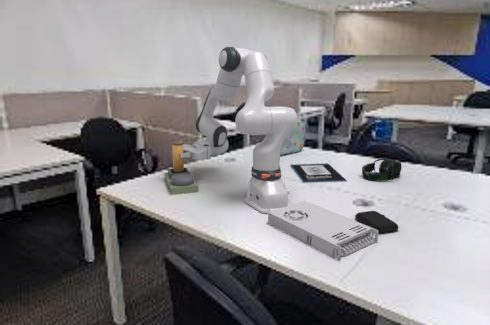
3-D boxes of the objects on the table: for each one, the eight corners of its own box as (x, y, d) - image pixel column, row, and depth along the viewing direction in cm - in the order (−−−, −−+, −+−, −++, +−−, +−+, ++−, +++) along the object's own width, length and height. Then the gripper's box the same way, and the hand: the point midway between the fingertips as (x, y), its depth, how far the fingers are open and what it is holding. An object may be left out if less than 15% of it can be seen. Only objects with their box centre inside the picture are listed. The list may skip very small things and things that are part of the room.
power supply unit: (339, 262, 112) (340, 247, 111) (267, 224, 138) (267, 212, 136) (377, 244, 123) (378, 230, 122) (304, 212, 149) (304, 200, 147)
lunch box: (294, 148, 251) (295, 116, 245) (306, 151, 243) (308, 117, 237) (264, 154, 234) (265, 120, 228) (276, 157, 227) (277, 122, 221)
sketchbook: (303, 184, 181) (303, 180, 181) (289, 167, 210) (289, 163, 210) (346, 182, 184) (347, 178, 183) (327, 165, 212) (327, 162, 212)
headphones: (381, 159, 201) (353, 170, 193) (396, 146, 190) (366, 157, 182) (396, 181, 196) (367, 193, 188) (411, 169, 185) (382, 181, 177)
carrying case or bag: (403, 232, 131) (376, 215, 145) (404, 223, 131) (377, 208, 144) (377, 236, 128) (352, 219, 142) (378, 227, 127) (353, 211, 141)
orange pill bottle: (185, 171, 180) (184, 142, 176) (173, 172, 178) (172, 143, 174) (183, 168, 185) (182, 140, 181) (172, 169, 183) (170, 141, 179)
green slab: (198, 191, 169) (198, 179, 167) (171, 194, 165) (170, 181, 164) (188, 176, 191) (188, 164, 189) (164, 178, 187) (164, 166, 186)
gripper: (187, 140, 194) (164, 144, 185) (212, 147, 180) (188, 151, 171) (188, 152, 196) (164, 156, 187) (212, 159, 181) (188, 165, 172)
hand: (176, 154), depth 179 cm, fingers closed on orange pill bottle, 5 cm apart
